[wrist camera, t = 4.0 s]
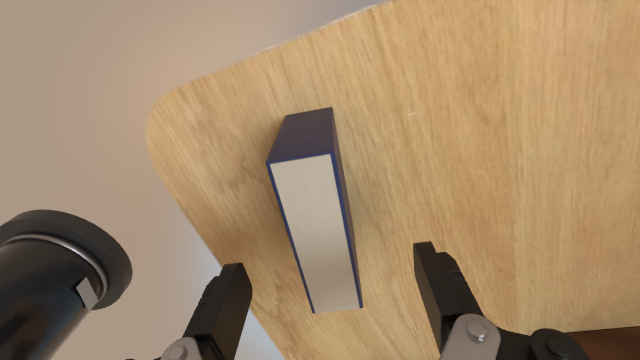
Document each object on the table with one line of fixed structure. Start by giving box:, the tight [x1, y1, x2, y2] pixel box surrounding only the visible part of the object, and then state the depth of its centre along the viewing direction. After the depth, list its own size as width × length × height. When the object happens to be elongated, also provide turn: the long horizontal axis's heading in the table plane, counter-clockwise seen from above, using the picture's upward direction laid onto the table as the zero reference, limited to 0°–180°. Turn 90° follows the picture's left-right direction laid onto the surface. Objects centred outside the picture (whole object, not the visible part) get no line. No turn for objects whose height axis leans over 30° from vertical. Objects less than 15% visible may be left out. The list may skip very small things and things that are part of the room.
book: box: [266, 107, 363, 313], centre depth 18 cm, size 3×10×7 cm, turn 11°
